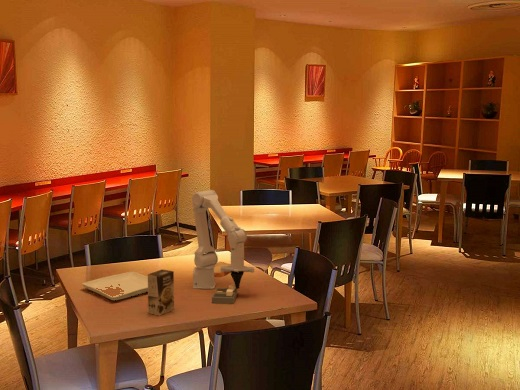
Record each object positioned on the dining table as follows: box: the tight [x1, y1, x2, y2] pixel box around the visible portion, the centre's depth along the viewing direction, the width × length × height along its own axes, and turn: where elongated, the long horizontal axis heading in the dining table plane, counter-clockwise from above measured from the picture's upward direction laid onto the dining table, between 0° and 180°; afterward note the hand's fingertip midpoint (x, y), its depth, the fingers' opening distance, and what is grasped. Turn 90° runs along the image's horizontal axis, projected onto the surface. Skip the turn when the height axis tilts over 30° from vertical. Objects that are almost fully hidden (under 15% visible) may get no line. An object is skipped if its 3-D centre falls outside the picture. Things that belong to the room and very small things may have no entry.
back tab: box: [228, 283, 236, 291], centre depth 257 cm, size 2×3×2 cm
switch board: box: [211, 287, 238, 305], centre depth 254 cm, size 9×13×3 cm
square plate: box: [81, 271, 148, 301], centre depth 266 cm, size 27×27×4 cm
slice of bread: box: [214, 261, 231, 278], centre depth 296 cm, size 18×18×4 cm
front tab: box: [226, 289, 233, 296], centre depth 250 cm, size 2×3×2 cm
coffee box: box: [147, 269, 175, 317], centre depth 238 cm, size 9×6×16 cm
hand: (237, 288), depth 257 cm, fingers closed
